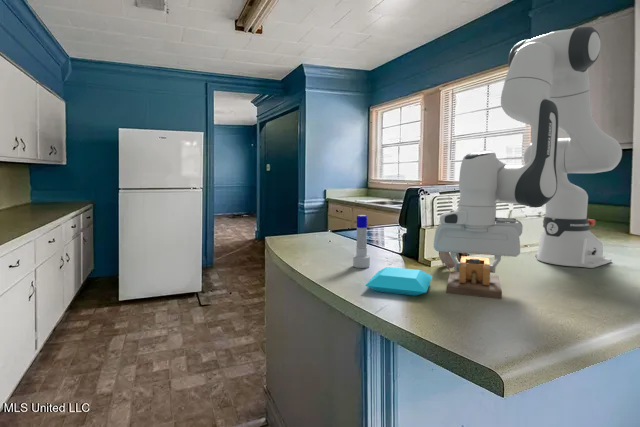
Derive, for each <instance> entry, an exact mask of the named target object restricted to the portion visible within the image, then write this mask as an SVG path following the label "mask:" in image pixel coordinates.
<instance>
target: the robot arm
mask: <svg viewBox="0 0 640 427" xmlns="http://www.w3.org/2000/svg"><path fill="white" fill-rule="evenodd" d="M600 50H601V38H600V34H599V32H598V31H597V29H595V28H594V26H593V27H592V26H578V27H577V26H576V27H575V28H570V29H561V30H555V31H551V32H549V33H546V34H542V35H539V36H536V37H533V38H531V39H529V38H526V39H524V40H521V41H519V42H517V43H516V44H514V45H513V47H512V48H511V50H510V51H509V53H508V57H507V58H508V59H507V64H508V65H507V66H508V70H507V73H506V76H505V79H504V83H503V87H502V91H501V95H500V106H501V108H502V111H503V112H504V113H505V114H506V115H507V116H508V117H509V118H511V119H512V120H514V121H517V122H520V123H523V124H526V125H529V126H530V127H531V131H532V132H531V133H532V135H531V143H530V144H529V145H528V146H527V147H526V148H525V150H524V152H523V153H524V154H523V162H524V164H517V165H515V164H514V165H512V164H506V163H505V162H502V161H501V160H499V158H497V155H496V152H495V151H490V150H485V151H477V152H472V153H471V152H470V153H467V154H466V155H465V156H464V157H463V158H462V160H461V164H460V169H459V178H458V179H459V180H458V181H459V182H458V190H459V194H460V195H459V196H460V197H459V201H458V203H457V204H458V207H457V209H454V210H451V211H446V212H444V213H442V214H440V215H439V224H438V226H437V228H436V230H435V233H434V238H433V249H434V250H435V251H436V252H439V251H441V252H449V253H450V257H451V258H452V260H453V262H454V263H455V267H453V268H454V270H457V271H459V268H460V262H458V259H457V255H456V253H468V254H470V255H472V254H473V255H474V254H475V255H484V256H486V255H487V256H493V258H494V261H493V263H492V264H490V274H492V273H493V274H495V273H496V267H497V266H498V265H499V263H500V262H501V260H502V257H518V256H519V255H520V253H521V241H520V237H521V235H522V234H523V229H524V228H523V227H524V226H523V224H522V222H521V221H520V220H518V219H517V218H514V217H510V218H509V217H508V218H507V217H497V203H504V204H513V205H520V206H525V207H531V208H535V209H536V208H540V207H542V206H544V205H545V215H544V216H543V220H542V224H543V225H542V228H544V229H543V231H541V233H540V236H539V240H538V241H539V243H538V249H537V252H535V254H534V256H535V257H536V259H537V260H538V261H540V262H542V263H546V264H551V265H557V266H563V267H564V266H566V267H580V268H587V269H588V268H590V269H594V268H597V267H600V266H603V265H607V264H609V263H612V258H610V257H607V256H604V245H603V242H602V241H601V240H599V238H597V236H595V235H594V234H593V233H592V232H591V227H590V226H592V227H593V226H595V225H596V220H595V219H594V218H593V219H590V218H587V216H588V204H589V195H588V193H587V191H586V190H585V189H583V187H580V186H578V185H575V184H574V183H572V182H570V180H569V179H568V178H569V177H568V174H597V173H603V172H604V173H605V172H609V171H612V170H614V169H615V168H616V167H617V166H618V165H619V163H620V162H621V160H622V157H623V148H622V146H621V144H620V143H619V141H618V140H617V139H615V138H614V137H613V136H610V135H608V134H607V133H606V132H604V131H603V130H602V129H601V128H600V127H599V125H598V124H597V123H596V121H595V119H594V116H593V112H592V103H591V81H590V74H589V69H588V68H591V66H593V65H594V63H595V62H596V61H597V59H598V58H599V55H600V53H601V52H600ZM559 129H560V130H561V131H563V132H565V134H566V135H568V137H561V138H558V137H559Z"/></svg>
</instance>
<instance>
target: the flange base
mask: <svg viewBox="0 0 640 427" xmlns="http://www.w3.org/2000/svg"><path fill="white" fill-rule="evenodd" d="M469 263H474V264H480V260H479V259H470V261H469ZM445 290H446V292H445V293H446V294H448V293H449V294H455V295H466V296H476V297H483V298H484V297H485V298H493V299H494V298H495V299H503V298H502V297H503V291H502V285H501V281H500V276H499V275H497V274H494V275H493V274H490V285H483V282H482V281H481V280H477V273H471V280H470V279H466V283H460V282H459V272H458V271H450V272H449V276H448V278H447V283H446V288H445Z"/></svg>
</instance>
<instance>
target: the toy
mask: <svg viewBox="0 0 640 427" xmlns="http://www.w3.org/2000/svg"><path fill="white" fill-rule="evenodd" d="M450 253H451V252H441V251H438V257H439V259H440V261H441V264H442V265H443V266H446V269H448V271H450V270H451V269H450V268H455V263H454V262H453V260H452V258H451V257H450ZM470 255H471V254H469V253H456V260H457V261H458V262H460V261H461V256H465V257H470Z"/></svg>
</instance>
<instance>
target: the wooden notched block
mask: <svg viewBox="0 0 640 427" xmlns="http://www.w3.org/2000/svg"><path fill="white" fill-rule="evenodd" d="M470 259H479V260H480V264H474V263H469V261H470ZM458 271H459V282H460V283H466V279H470V280H471V273H477V280H481V281H482V282H483V285H490V275H491V273H490V258H488V257H477V256H476V257H475V256H467V257H465V256H461V261H460V268H459V270H458Z"/></svg>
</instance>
